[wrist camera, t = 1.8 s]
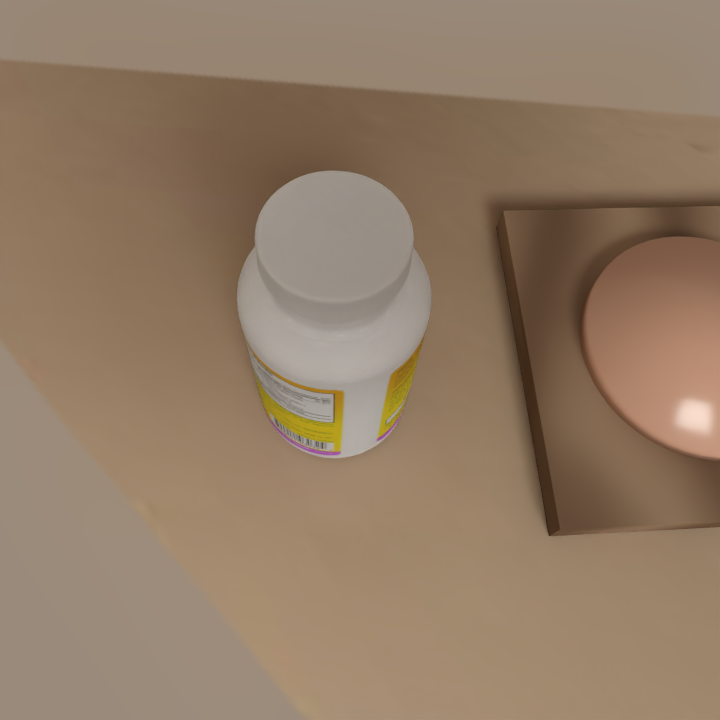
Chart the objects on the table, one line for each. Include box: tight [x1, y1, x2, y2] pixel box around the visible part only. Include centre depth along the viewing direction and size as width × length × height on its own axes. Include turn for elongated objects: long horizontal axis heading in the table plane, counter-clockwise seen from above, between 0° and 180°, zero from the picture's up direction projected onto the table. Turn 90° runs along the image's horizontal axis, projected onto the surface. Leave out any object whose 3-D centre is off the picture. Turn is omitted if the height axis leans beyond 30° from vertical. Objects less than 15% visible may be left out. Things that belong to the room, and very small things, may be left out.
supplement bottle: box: [237, 171, 431, 458], centre depth 25 cm, size 7×7×13 cm
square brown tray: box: [497, 206, 720, 536], centre depth 32 cm, size 16×16×2 cm
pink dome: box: [580, 236, 720, 461], centre depth 31 cm, size 11×11×1 cm
